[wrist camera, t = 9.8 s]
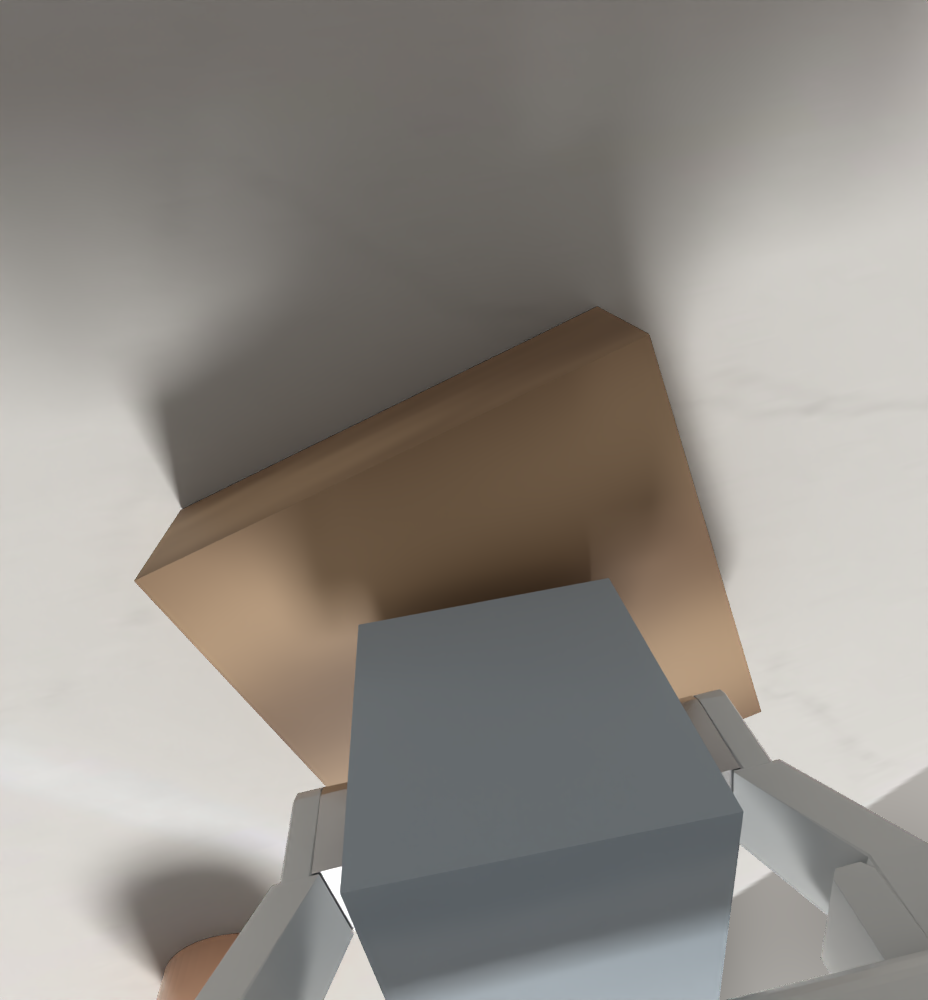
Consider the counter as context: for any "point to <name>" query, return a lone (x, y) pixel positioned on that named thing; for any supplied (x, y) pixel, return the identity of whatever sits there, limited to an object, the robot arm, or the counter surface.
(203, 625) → the base slab
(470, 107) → the counter surface
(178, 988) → the peach rounded cylinder
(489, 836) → the cube
